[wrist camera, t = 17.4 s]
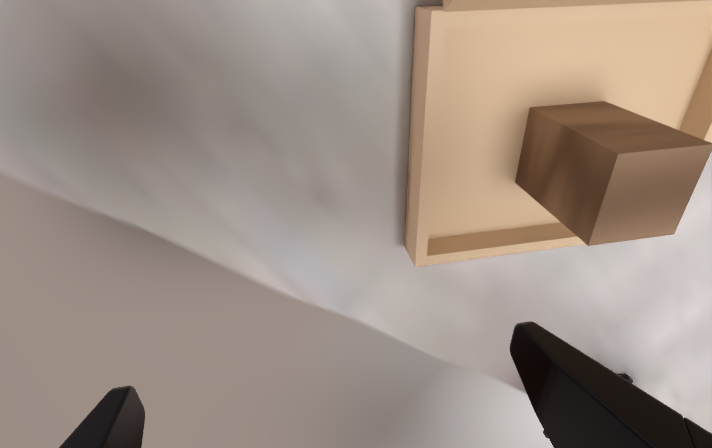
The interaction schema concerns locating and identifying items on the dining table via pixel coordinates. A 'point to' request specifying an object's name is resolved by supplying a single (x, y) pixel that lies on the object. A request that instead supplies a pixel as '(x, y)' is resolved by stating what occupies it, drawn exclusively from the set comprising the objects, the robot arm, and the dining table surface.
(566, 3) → the mailer lid
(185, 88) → the dining table surface
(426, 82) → the box
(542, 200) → the walnut block
